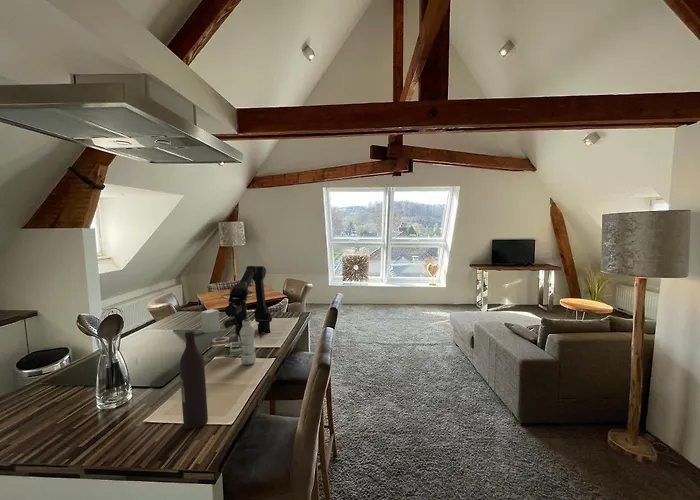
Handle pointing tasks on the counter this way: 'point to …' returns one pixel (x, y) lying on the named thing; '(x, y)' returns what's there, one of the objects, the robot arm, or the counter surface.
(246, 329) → the plastic bottle
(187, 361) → the wine bottle
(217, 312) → the supplement box
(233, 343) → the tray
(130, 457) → the counter surface
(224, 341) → the pulley board
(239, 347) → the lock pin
